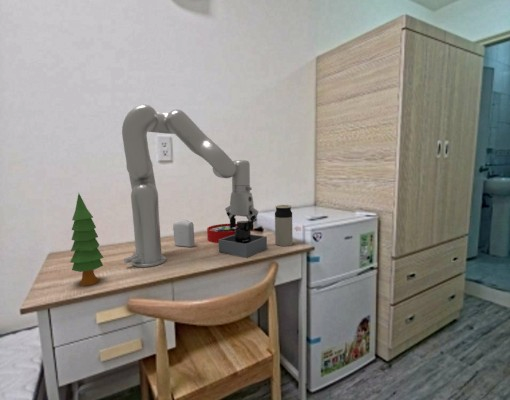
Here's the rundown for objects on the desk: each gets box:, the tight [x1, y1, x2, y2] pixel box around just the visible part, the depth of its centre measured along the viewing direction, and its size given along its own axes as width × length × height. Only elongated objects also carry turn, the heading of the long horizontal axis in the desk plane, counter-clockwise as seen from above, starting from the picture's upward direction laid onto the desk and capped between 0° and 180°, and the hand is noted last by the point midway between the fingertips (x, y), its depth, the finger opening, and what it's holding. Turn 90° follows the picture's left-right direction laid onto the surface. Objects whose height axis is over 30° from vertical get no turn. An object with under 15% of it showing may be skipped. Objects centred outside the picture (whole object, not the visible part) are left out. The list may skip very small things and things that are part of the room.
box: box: [217, 233, 268, 259], centre depth 131 cm, size 15×15×6 cm
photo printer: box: [172, 219, 195, 248], centre depth 141 cm, size 10×4×12 cm, turn 63°
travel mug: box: [274, 204, 294, 247], centre depth 139 cm, size 8×8×18 cm
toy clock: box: [206, 223, 237, 244], centre depth 154 cm, size 20×6×20 cm
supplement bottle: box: [235, 220, 252, 244], centre depth 131 cm, size 7×7×12 cm
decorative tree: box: [69, 192, 104, 287], centre depth 99 cm, size 10×9×30 cm
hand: (241, 228), depth 130 cm, fingers open, 9 cm apart
